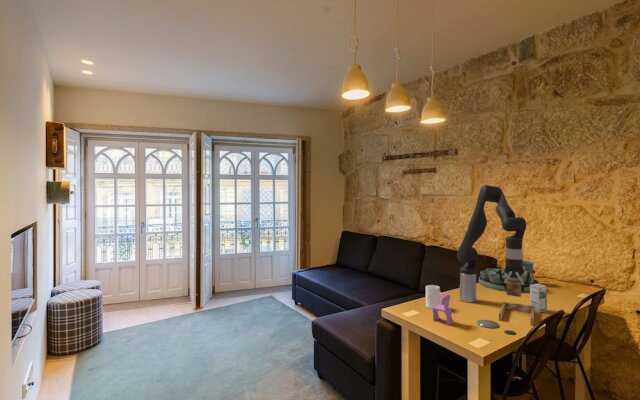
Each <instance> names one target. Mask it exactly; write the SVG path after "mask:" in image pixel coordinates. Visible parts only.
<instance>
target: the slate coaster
mask: <svg viewBox="0 0 640 400" xmlns="http://www.w3.org/2000/svg"><path fill="white" fill-rule="evenodd" d="M476 325H478V326H479V327H482V328H487V329H498V328H499V323H498V322H496V321H493V320H490V319H479V320H477V321H476Z"/></svg>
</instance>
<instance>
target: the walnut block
mask: <svg viewBox="0 0 640 400" xmlns="http://www.w3.org/2000/svg"><path fill="white" fill-rule="evenodd" d="M506 296H510V297H511V296H512V297H519V298H520V297H522V292H521V282H520V281H511V280H508V281H507V291H506Z"/></svg>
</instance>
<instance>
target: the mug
mask: <svg viewBox="0 0 640 400" xmlns="http://www.w3.org/2000/svg"><path fill="white" fill-rule="evenodd" d="M444 296H445V295H444V294H443V293H442V292H441V288H440V286H439V285H435V284H429V285H426V286H425V296H424V297H425V307H426V308H427V307H428V308H427V309H430V308H431V309H432V310H433V307H436V306H438V305H443V304H441V300H442V298H443V297H444ZM443 306H444V305H443ZM431 309H430V310H431Z"/></svg>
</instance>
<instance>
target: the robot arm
mask: <svg viewBox="0 0 640 400" xmlns="http://www.w3.org/2000/svg"><path fill="white" fill-rule="evenodd" d="M506 198H507V197H506V196H505V194H504V191H503V190H502V188H501V187H499V186H496V185H495V186H493V185H489V184H484V185H482V186H481V188H480V189H479V193H478V196H477V200H476V203H475V208H474V211H473V213H472V215H471V218H470V220H469V223H468V226H467V228H466V232H465V235H464V237H463V239H462V240H461V241H462V242H461V243H460V246H459V248H458V250H457V253H456V259H457V260H458V261H459V262H460V263H463V264H464V265H463V266H461V267H460V269H459V271H460V272H459V279H460V280H459V282H460V284H459V301H462V302H463V303H464V302H465V303H476V302H477V301H478V300H477V298H478V297H477V271H478V267H479V266H478V264H479V254H478V251H477V249H476V248H475V247H473V246H474V244H475V243H476V242H477V241H478V240H479V239H480V238H482V236H483V234H484V233H485V230H486V228H487V225H488V219H487V216H486V213H485V204H486V202H488V203H489V202H490V203H496V204H497V205H496V207H495V212H496V214H497V215H498V217H499V219H500V221H501V226H502V229H503V230H504V231H505V232H515V233H514V234H513V235H509V236H507V237H506V238H505V255H504V257H505V259H504V261H505V267H504V268H505V269H502V268H498V269H499V270H498V271H499V277H500V281H502V282H504V289H506V291H505V292H507V281H508V279H509V278H517V279H519V281H520V282H521V293H524V292H523V291H524V285H525V284H528V283H529V277H530V271H528V272H527V271H524V270H523V260H524V253H523V239H524V235H525V232H526V229H527V221H526V220H525V218H524V217H521V216H520V217H518V216H517V217H516V213H515V211H514V210H513V209H512V207H511V206H510V205H509V203H508V201H507V199H506ZM504 271H505V272H506V274H507V277H506V279H503V275H502V273H503V272H504ZM523 273H525V276H527V277H526V281H523V279H522V277H521V275H522V274H523Z"/></svg>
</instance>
